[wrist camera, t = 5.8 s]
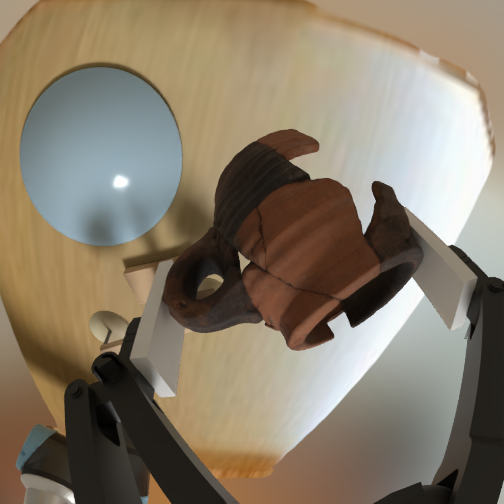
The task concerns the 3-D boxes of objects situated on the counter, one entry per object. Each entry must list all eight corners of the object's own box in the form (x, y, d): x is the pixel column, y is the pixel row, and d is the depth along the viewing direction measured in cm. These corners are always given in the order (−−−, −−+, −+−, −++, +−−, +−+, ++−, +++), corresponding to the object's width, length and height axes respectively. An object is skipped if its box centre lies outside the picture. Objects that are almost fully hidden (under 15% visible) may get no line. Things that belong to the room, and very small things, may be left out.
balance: (120, 303, 37) (96, 370, 28) (103, 273, 35) (70, 339, 25) (234, 280, 36) (236, 354, 27) (223, 245, 34) (220, 316, 24)
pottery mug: (339, 93, 13) (467, 198, 9) (336, 208, 21) (407, 298, 17) (110, 195, 12) (155, 374, 8) (184, 286, 20) (233, 399, 16)
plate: (62, 259, 33) (60, 261, 33) (3, 117, 23) (1, 117, 23) (206, 219, 32) (206, 221, 32) (152, 36, 22) (151, 36, 21)
